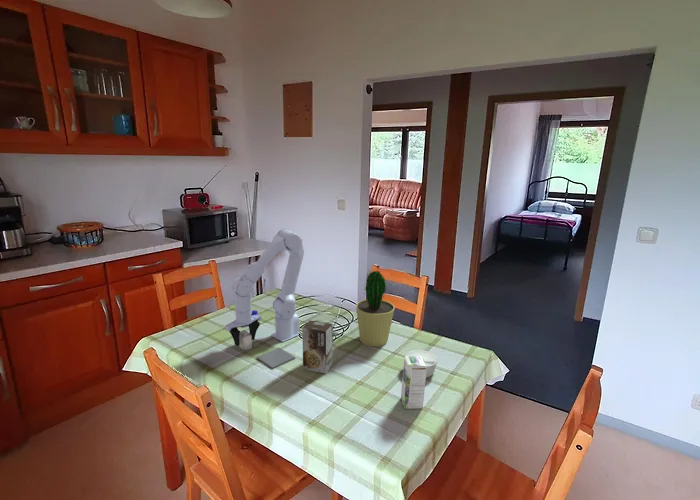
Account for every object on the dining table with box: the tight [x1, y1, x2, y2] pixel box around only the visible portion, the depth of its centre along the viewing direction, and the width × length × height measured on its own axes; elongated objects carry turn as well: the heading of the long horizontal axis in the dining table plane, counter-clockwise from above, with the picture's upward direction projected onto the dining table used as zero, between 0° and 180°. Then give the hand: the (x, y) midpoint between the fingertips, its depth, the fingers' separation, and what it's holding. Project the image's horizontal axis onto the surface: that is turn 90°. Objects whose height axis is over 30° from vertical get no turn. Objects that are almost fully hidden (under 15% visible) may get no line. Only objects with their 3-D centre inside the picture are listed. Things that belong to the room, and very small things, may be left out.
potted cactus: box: [355, 270, 396, 347], centre depth 149 cm, size 15×15×30 cm
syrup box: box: [400, 356, 427, 410], centre depth 112 cm, size 6×6×14 cm
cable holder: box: [244, 309, 258, 327], centre depth 166 cm, size 8×4×4 cm, turn 152°
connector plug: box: [238, 329, 253, 351], centre depth 145 cm, size 4×7×6 cm, turn 47°
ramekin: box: [404, 349, 438, 379], centre depth 131 cm, size 11×11×5 cm
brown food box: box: [301, 320, 334, 375], centre depth 130 cm, size 9×6×16 cm
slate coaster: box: [256, 347, 296, 370], centre depth 137 cm, size 10×10×1 cm
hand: (244, 342), depth 145 cm, fingers open, 6 cm apart
